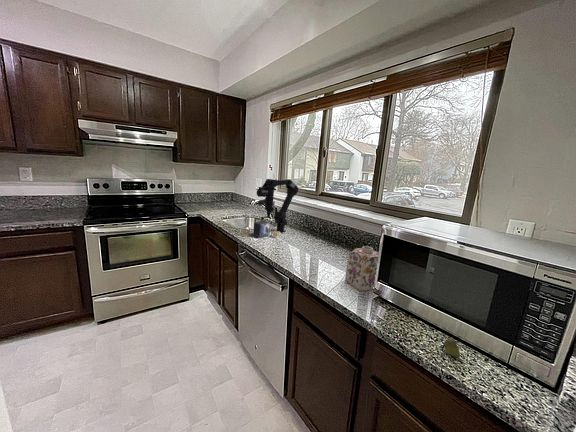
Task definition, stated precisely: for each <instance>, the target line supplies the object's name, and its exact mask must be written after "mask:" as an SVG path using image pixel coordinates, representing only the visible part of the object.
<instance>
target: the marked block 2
mask: <svg viewBox="0 0 576 432" xmlns="http://www.w3.org/2000/svg"><path fill="white" fill-rule="evenodd" d="M272 238H275V239H279V238H281V233H280V232H278V231H276V230H274V231H272Z"/></svg>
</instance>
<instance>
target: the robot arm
mask: <svg viewBox="0 0 576 432" xmlns="http://www.w3.org/2000/svg"><path fill="white" fill-rule="evenodd" d="M278 186H285V188H286V197H285V198H284V201H283V203H282V205H281V207H280V210H279V211H276V212H275V214H274V217H273V218H274V223H275V224H277V225H276V230H275V231H278V232H280V234H282V233H285V232H287V231H286V230H285V226H287V225H288V222H289V221H288V220H287V219H286V218H287V211H288V209H289V207H290V204H291V202H292V200H293V198H294V197H295V196H296V195H297V193H298V192H299V188H298V186H297V184H296V183H295V182H293V181H292V179H273V178H272V179H271V178H267V179H266V180H265V182H264V183H263V185H262V186H259V187H258V188H257V190H256V196H257V197H259V198H260V197H265V198H264V199H259V200H258V201H257V205H258V206H259V207H260V206H263V205H264V210H266V214H267V218H270V216H271V214H272V213H273V210H274V209H275V208H274V207H275V206H274V195H275V191H277V189H276V187H278Z"/></svg>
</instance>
